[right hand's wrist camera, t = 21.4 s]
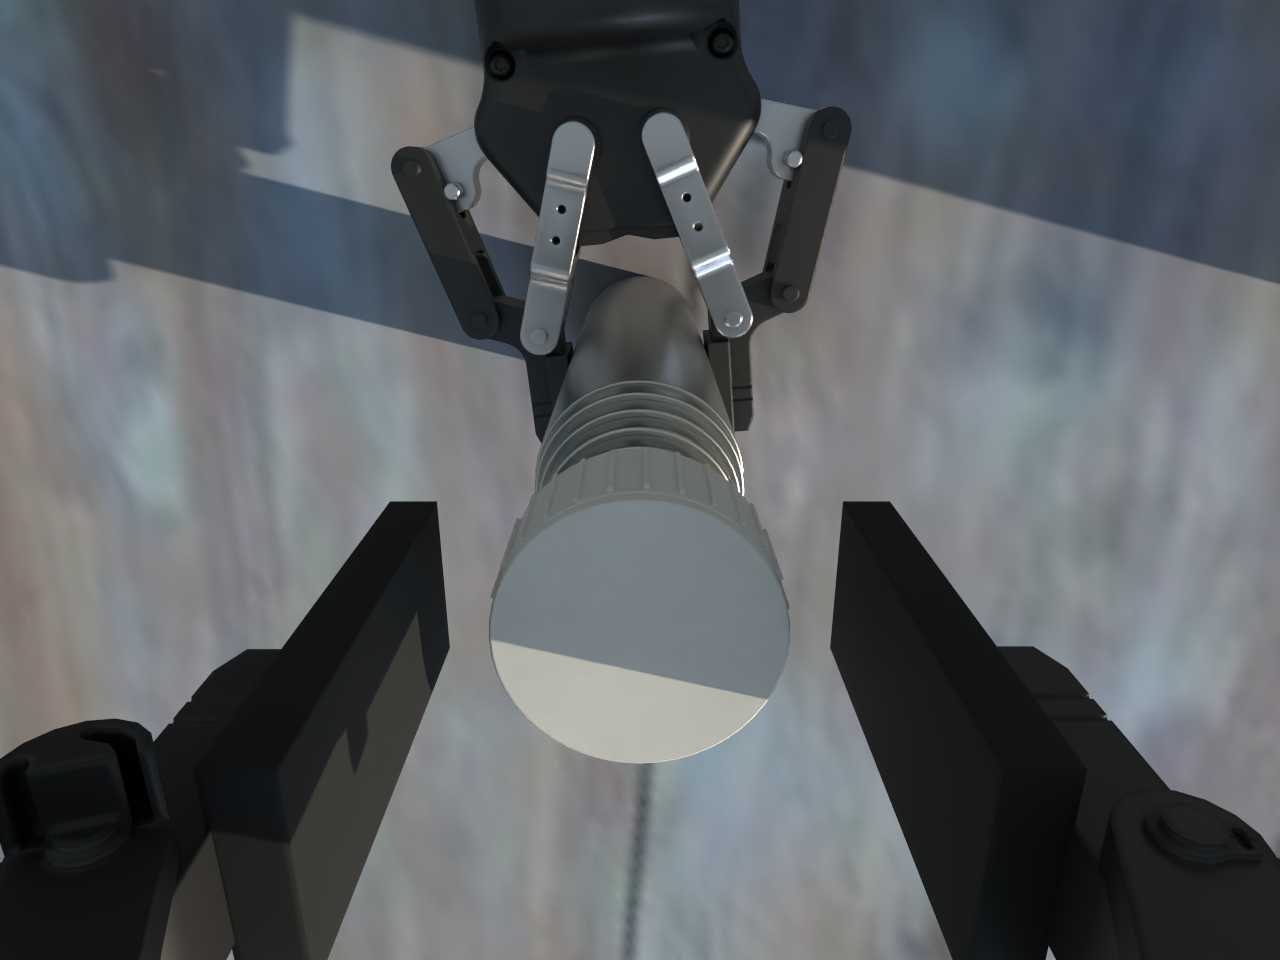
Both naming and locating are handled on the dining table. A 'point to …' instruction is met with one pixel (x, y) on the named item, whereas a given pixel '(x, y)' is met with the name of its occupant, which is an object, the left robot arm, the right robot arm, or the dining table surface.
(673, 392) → the bottle
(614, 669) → the cap
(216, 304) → the dining table surface
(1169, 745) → the dining table surface
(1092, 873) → the right robot arm
